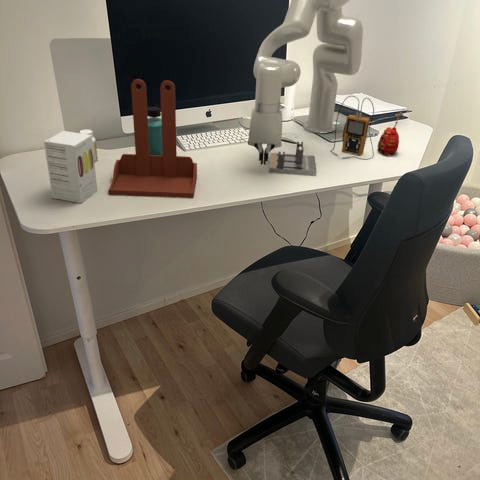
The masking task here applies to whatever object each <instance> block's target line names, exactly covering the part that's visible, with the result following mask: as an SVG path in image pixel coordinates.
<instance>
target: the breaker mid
mask: <svg viewBox="0 0 480 480" xmlns="http://www.w3.org/2000/svg"><path fill="white" fill-rule="evenodd" d="M295 154H296V153H295ZM303 155H304V146H303V147H297V154H296V163H302V160H303Z"/></svg>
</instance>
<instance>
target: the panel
mask: <svg viewBox="0 0 480 480" xmlns="http://www.w3.org/2000/svg"><path fill="white" fill-rule="evenodd" d="M277 163H278V152H270V157H269V169H268V173H269V174H270V173H271V174H285V175H296V174H297V176H298V175H299V176H300V175H301V176H311V177H313V176H314V177H316V176H317V172H318V171H317V164H316V156H315V155H309V154H307V155H306V154H303V160H302V163H296V153H285V158H284V168H280V167H277Z"/></svg>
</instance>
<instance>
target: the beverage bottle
mask: <svg viewBox="0 0 480 480" xmlns="http://www.w3.org/2000/svg"><path fill="white" fill-rule="evenodd" d="M147 114H148V133H149V153H150V155H162V156H163V148H162V121H161V118H160V117H161V107H157V106H150V107H149V106H148V107H147Z"/></svg>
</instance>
